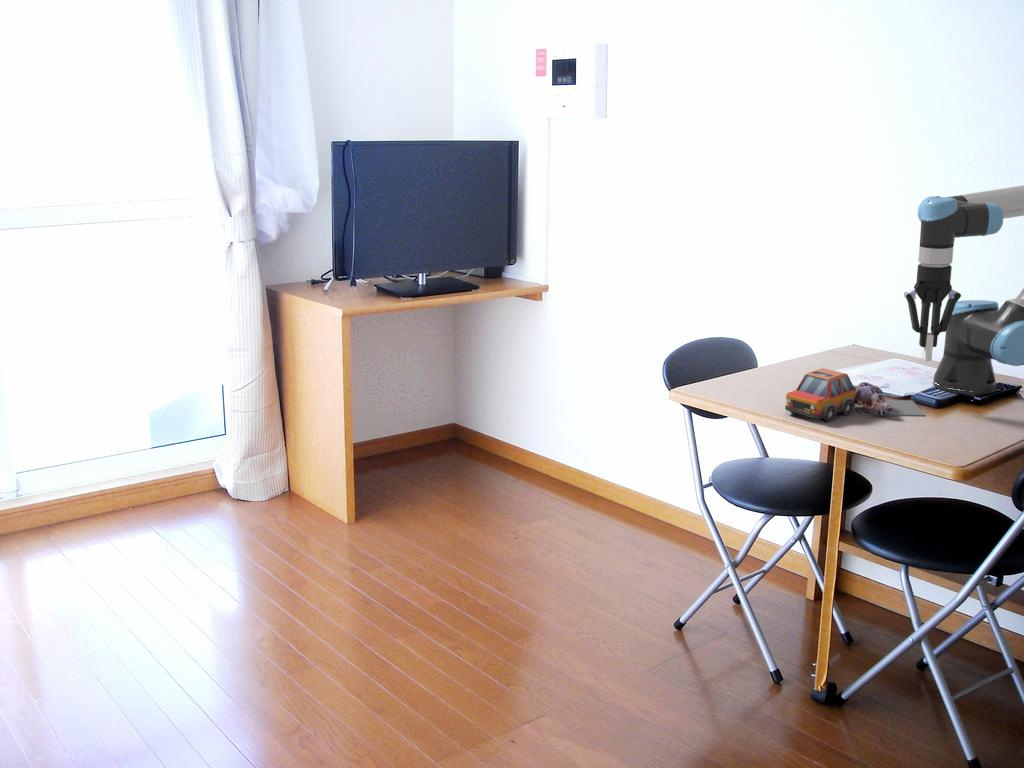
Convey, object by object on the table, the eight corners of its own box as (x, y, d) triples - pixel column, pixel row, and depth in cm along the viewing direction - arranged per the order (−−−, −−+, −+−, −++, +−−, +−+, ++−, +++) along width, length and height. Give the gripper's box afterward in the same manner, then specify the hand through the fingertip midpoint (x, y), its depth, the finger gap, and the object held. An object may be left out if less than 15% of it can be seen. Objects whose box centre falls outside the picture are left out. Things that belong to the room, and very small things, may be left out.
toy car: (779, 414, 256) (781, 375, 253) (820, 400, 266) (823, 363, 263) (819, 426, 248) (822, 386, 245) (860, 411, 258) (863, 372, 255)
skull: (900, 417, 252) (902, 393, 250) (870, 419, 251) (872, 395, 249) (874, 402, 263) (876, 379, 261) (846, 404, 262) (848, 381, 260)
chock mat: (911, 401, 265) (912, 400, 264) (925, 416, 254) (925, 414, 253) (851, 400, 266) (851, 399, 266) (861, 415, 255) (861, 413, 255)
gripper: (958, 260, 251) (949, 355, 258) (902, 261, 252) (895, 355, 259) (968, 266, 244) (959, 363, 251) (910, 267, 245) (903, 364, 252)
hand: (926, 359), depth 255 cm, fingers closed
